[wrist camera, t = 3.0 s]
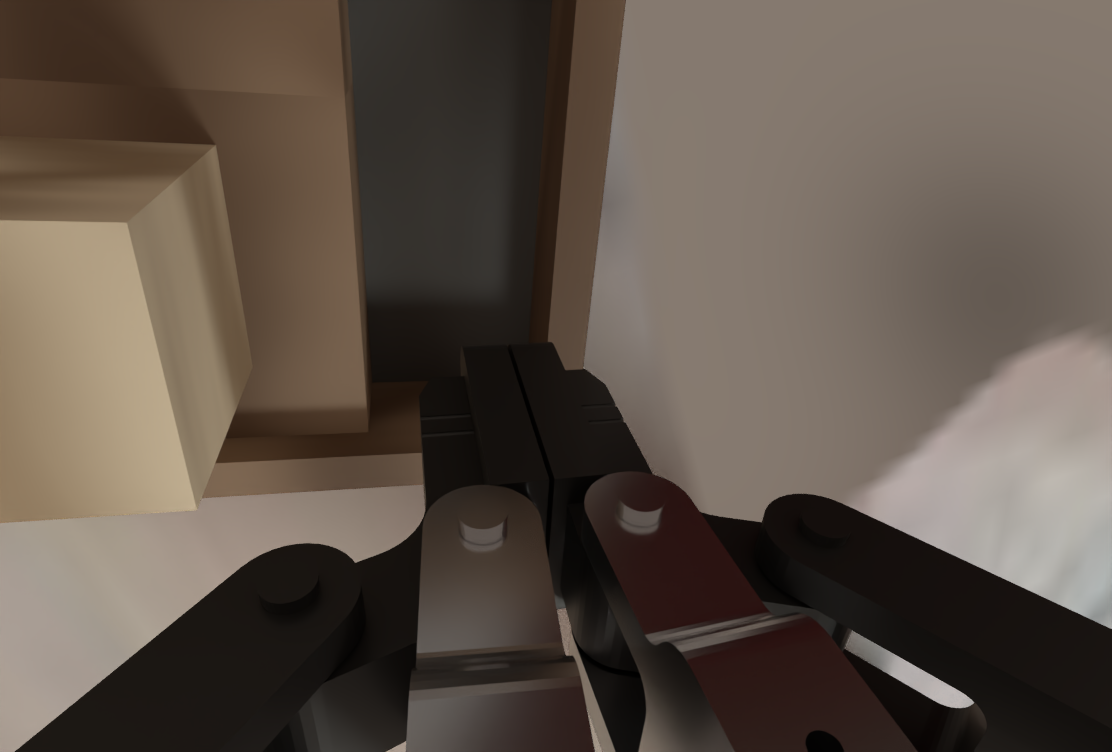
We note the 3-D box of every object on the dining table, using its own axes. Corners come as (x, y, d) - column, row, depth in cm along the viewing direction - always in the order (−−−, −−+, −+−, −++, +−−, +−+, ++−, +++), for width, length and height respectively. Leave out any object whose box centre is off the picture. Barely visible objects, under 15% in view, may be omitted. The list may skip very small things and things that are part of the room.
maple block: (216, 145, 13) (126, 222, 9) (252, 366, 16) (197, 509, 11) (-85, 132, 12) (-349, 213, 8) (6, 372, 14) (-157, 532, 10)
